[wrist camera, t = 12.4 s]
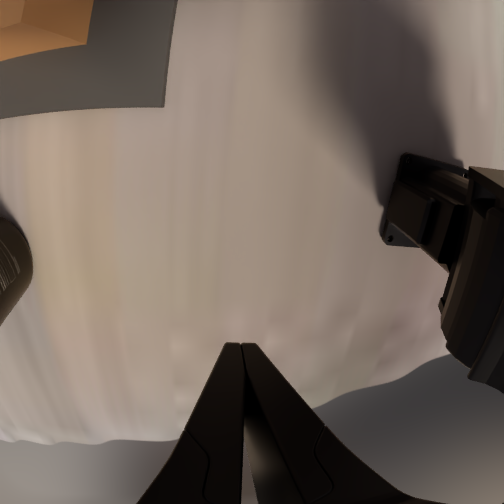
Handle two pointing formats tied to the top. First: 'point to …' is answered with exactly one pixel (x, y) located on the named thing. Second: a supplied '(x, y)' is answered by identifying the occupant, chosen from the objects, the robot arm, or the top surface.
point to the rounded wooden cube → (42, 25)
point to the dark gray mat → (97, 64)
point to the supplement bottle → (13, 267)
